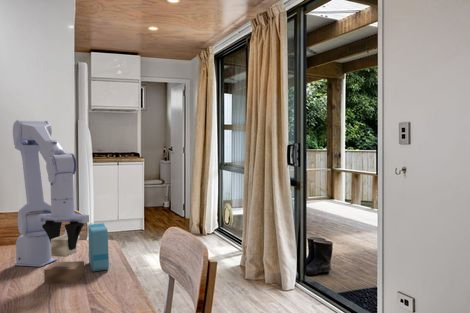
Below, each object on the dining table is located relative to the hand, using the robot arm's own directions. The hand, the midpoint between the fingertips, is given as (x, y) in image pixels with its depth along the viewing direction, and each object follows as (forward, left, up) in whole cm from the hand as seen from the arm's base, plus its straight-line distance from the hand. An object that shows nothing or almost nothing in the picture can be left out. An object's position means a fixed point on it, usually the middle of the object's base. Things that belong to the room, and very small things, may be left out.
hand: (64, 248), depth 111 cm
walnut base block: (0, 0, -8) cm, 8 cm away
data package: (+3, +12, -8) cm, 15 cm away
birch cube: (0, 0, -1) cm, 1 cm away
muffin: (-20, +31, -8) cm, 38 cm away
